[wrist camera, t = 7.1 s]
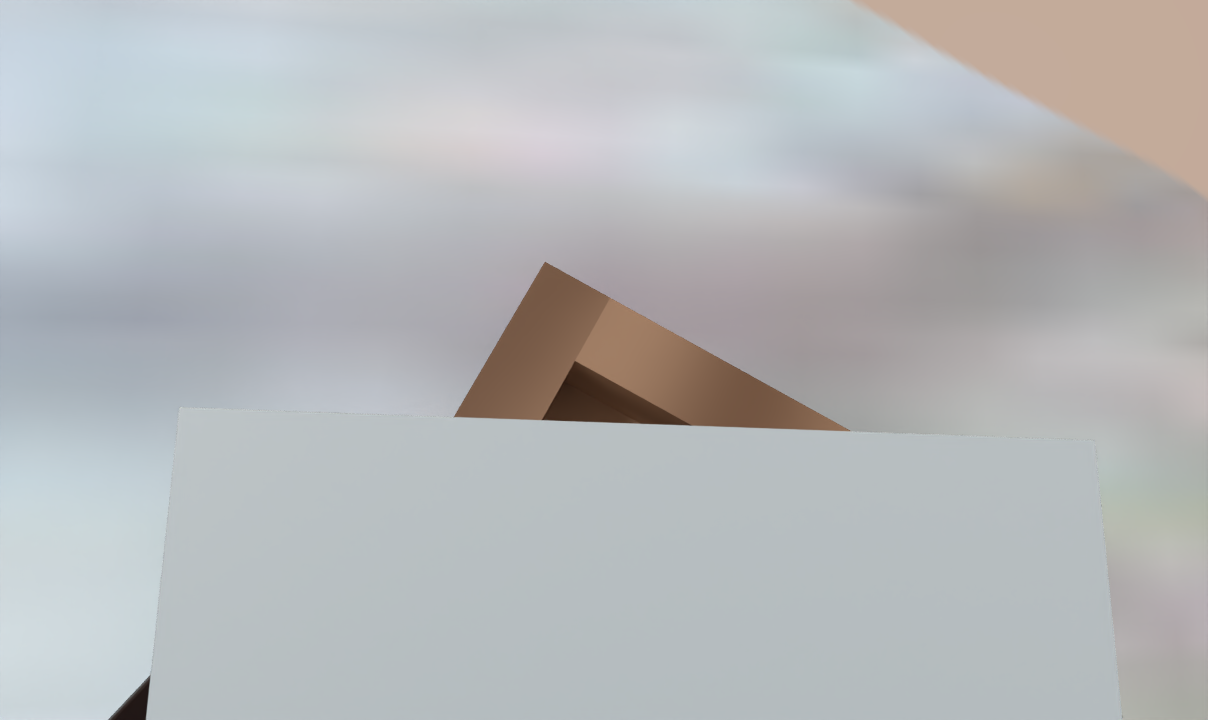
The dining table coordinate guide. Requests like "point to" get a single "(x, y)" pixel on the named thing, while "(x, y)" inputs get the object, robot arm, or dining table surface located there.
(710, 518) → the peg block
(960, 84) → the dining table surface
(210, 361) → the dining table surface
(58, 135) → the dining table surface
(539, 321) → the square holder
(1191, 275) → the dining table surface
